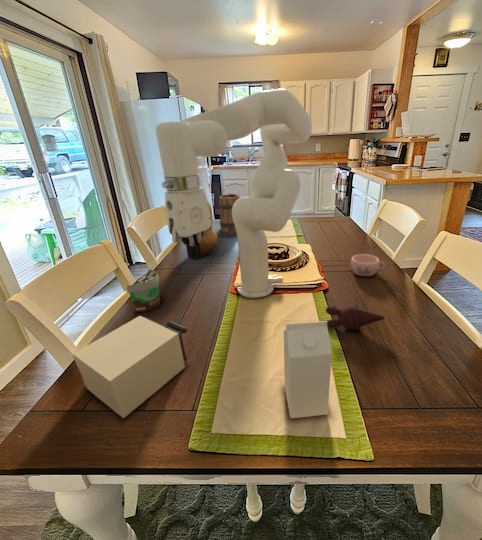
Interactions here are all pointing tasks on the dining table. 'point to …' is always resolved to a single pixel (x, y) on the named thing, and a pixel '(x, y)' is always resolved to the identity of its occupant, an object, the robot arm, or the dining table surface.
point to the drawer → (178, 328)
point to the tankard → (227, 215)
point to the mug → (365, 264)
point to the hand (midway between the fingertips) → (195, 258)
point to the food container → (145, 292)
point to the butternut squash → (208, 239)
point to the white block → (130, 363)
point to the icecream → (351, 317)
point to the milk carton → (307, 368)
